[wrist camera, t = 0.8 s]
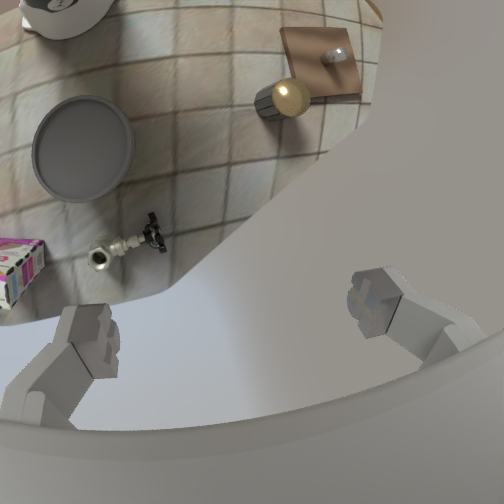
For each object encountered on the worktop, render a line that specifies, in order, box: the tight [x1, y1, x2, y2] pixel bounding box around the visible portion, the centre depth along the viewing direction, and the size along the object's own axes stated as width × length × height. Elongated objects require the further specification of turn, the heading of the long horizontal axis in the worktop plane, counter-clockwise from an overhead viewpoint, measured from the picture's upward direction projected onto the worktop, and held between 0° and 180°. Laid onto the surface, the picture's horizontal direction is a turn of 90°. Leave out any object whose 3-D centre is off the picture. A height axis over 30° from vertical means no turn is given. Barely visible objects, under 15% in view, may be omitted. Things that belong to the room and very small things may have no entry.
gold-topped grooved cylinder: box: [254, 78, 310, 121], centre depth 44 cm, size 6×6×8 cm
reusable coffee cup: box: [31, 95, 135, 203], centre depth 34 cm, size 13×12×15 cm
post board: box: [279, 27, 363, 98], centre depth 47 cm, size 14×14×2 cm
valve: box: [88, 212, 167, 272], centre depth 44 cm, size 7×7×12 cm
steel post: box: [320, 47, 349, 66], centre depth 44 cm, size 2×2×6 cm
